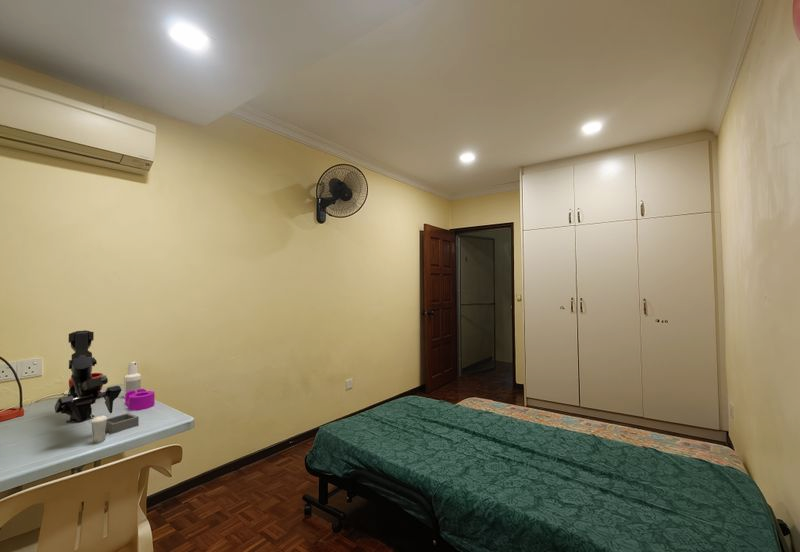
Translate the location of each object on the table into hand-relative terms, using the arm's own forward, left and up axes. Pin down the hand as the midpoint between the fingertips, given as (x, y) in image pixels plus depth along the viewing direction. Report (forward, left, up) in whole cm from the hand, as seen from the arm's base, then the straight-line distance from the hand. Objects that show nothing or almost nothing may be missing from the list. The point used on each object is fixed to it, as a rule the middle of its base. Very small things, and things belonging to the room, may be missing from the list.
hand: (96, 416), depth 130 cm
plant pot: (-45, +48, -9) cm, 66 cm away
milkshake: (+1, -1, -9) cm, 9 cm away
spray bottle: (-24, +51, -9) cm, 57 cm away
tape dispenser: (-11, +38, -9) cm, 40 cm away
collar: (0, +12, -9) cm, 15 cm away
